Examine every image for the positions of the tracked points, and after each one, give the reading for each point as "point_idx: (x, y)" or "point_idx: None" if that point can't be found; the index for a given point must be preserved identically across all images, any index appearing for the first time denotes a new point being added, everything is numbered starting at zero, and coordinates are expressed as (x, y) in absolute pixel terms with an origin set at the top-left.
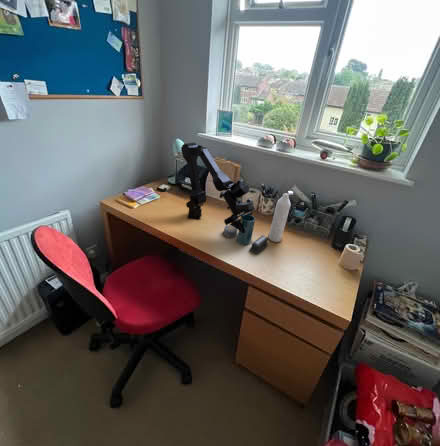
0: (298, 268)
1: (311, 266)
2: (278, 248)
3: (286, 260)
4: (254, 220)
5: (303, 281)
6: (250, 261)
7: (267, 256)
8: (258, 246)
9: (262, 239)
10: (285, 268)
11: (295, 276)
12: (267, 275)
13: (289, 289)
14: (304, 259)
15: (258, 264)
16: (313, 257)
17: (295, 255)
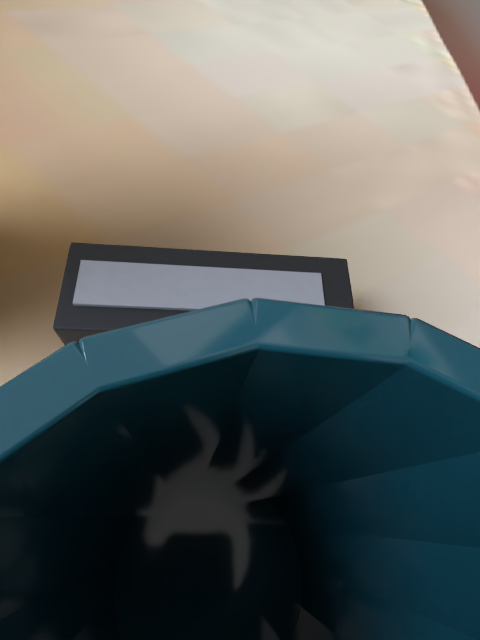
0: (226, 47)
1: (142, 3)
2: (73, 197)
3: (202, 112)
4: (271, 303)
5: (317, 17)
6: (456, 297)
7: (272, 224)
8: (335, 264)
9: (175, 277)
10: (295, 97)
11: (315, 48)
12: (458, 154)
13: (435, 51)
14: (91, 36)
15: (425, 236)
16: (19, 3)
17: (83, 82)
